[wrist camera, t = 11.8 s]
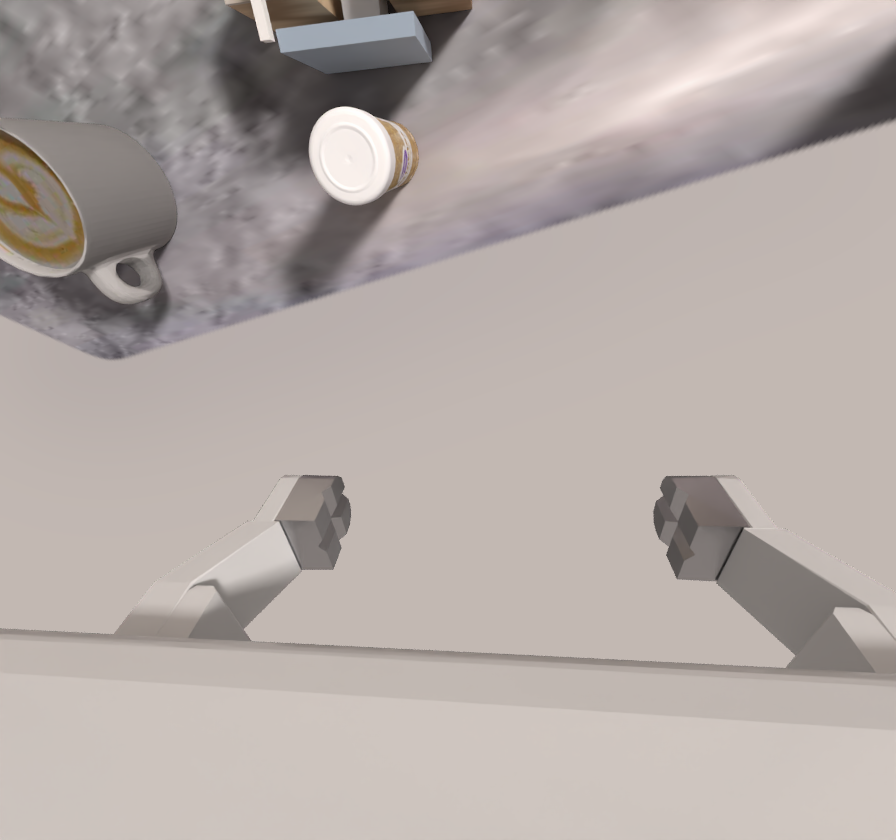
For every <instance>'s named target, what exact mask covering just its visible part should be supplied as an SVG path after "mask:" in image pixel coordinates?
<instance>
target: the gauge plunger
mask: <svg viewBox="0 0 896 840" xmlns="http://www.w3.org/2000/svg"><path fill="white" fill-rule="evenodd" d="M250 1H251V5H252V9H253V13H254V17H255V21H256V25H257V29H258V33H259V37H260V41H262V42H264V43H270V42H275V39H274V35H273V30H272V26H271V22H270V18H269V13H268V9H267V5H266V1H265V0H250ZM341 3H342V9H343V15H344V20H341V21H334V22H326V23H319V24H311V25H304V26H296V27H289V28H281V29H275V30H276V35H277V39H278V43H279V47H280V52H281V53H282V54H284V55H286V56H289V57H291V58H293V59H295V60H297V61H299V62H302V63H304V64H306V65H308V66H310V67H312V68H314V69H317V70H319V71H321V72H323V73H325V74H332V73H341V72H349V71H358V70H366V69H375V68H383V67H391V66H400V65H408V64H417V63H425V62H432V52H431V42H430V41H429V39H428V37H427V35H426V33H425V31H424V30H423V28H422V26H421V24H420V22H419V20H418V19H417V17H416V15H415V13H414V11H409V12H401V13H394V14H388V7H387V0H341Z"/></svg>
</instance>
